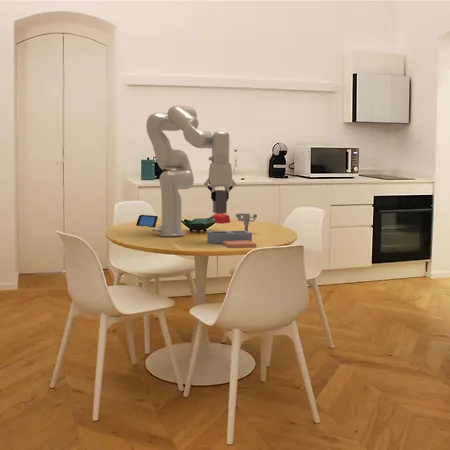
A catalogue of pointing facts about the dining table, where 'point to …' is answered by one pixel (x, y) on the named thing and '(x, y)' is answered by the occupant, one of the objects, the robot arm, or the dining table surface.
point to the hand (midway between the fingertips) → (219, 200)
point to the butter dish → (221, 218)
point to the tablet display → (147, 220)
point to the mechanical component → (245, 219)
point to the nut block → (220, 201)
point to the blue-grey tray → (228, 236)
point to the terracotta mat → (239, 244)
